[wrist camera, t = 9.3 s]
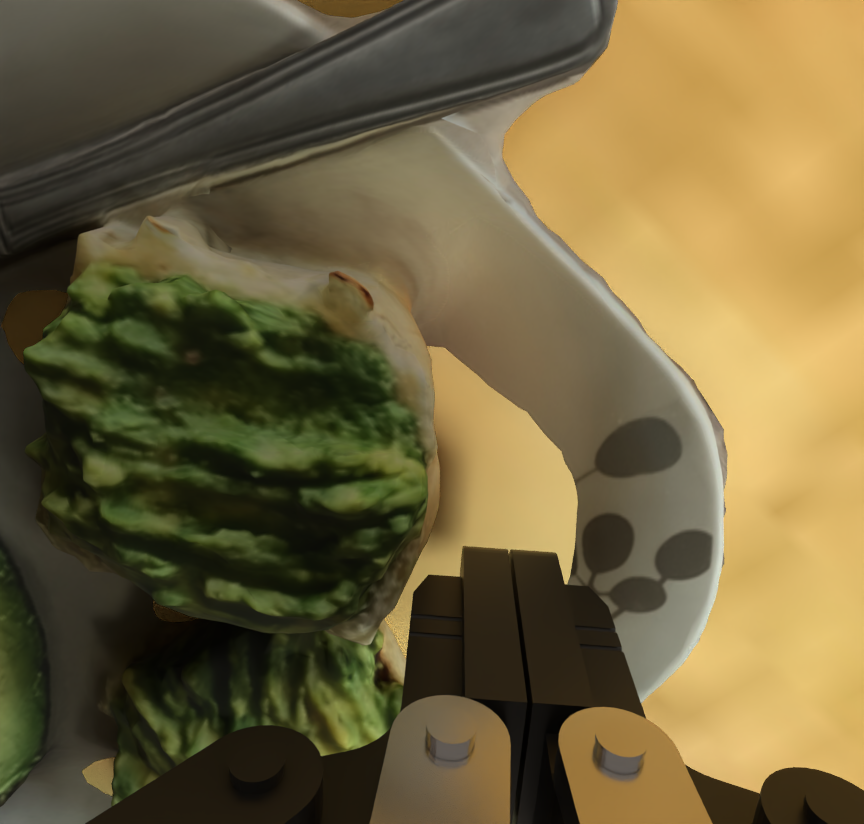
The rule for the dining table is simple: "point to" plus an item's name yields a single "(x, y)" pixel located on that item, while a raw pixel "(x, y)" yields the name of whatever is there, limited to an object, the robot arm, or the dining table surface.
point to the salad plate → (292, 370)
